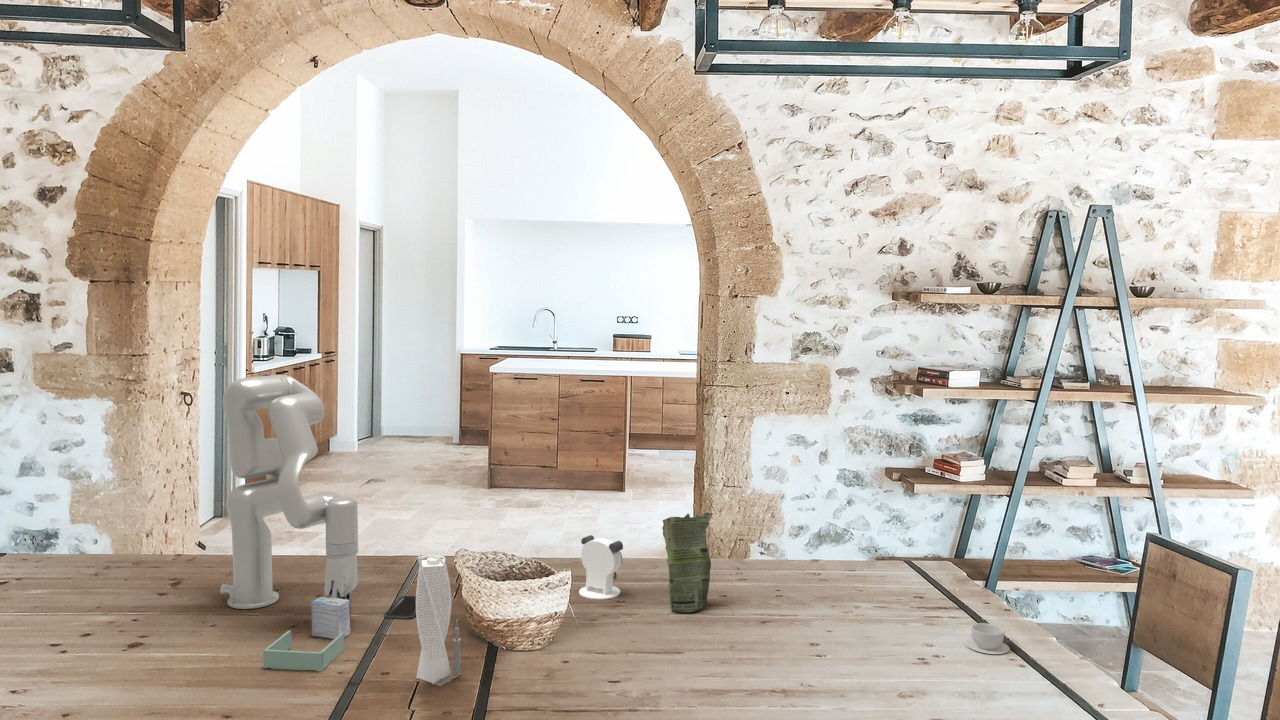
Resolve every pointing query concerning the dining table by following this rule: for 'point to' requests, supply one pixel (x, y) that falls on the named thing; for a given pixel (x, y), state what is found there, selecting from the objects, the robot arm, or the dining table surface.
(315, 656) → the box
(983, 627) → the teacup
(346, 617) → the medicine box
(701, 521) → the pouch
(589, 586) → the panda figurine
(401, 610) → the phone
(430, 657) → the skyscraper
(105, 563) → the dining table surface
